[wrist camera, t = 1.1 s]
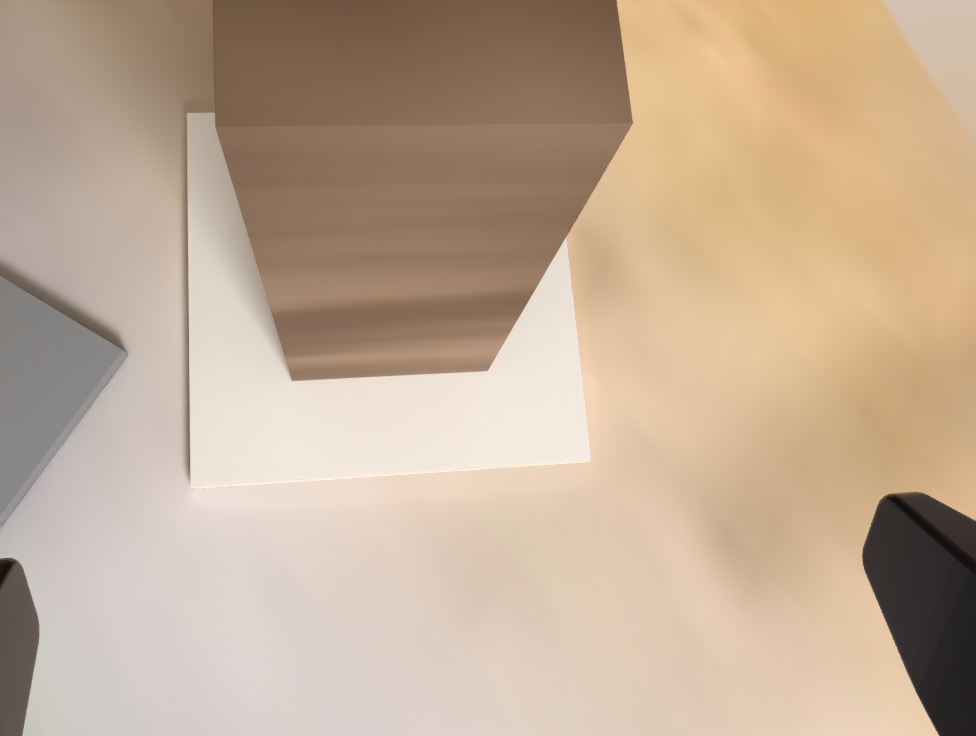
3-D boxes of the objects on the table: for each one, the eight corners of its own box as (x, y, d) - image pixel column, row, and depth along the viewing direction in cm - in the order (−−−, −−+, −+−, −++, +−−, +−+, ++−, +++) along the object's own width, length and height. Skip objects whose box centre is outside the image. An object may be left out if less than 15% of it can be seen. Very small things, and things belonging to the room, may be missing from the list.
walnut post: (487, 371, 24) (632, 123, 11) (292, 381, 23) (215, 127, 10) (472, 193, 25) (588, -211, 12) (285, 197, 24) (208, -229, 12)
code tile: (587, 462, 24) (591, 459, 24) (193, 489, 22) (190, 487, 22) (549, 117, 26) (552, 110, 26) (189, 120, 25) (186, 112, 24)
